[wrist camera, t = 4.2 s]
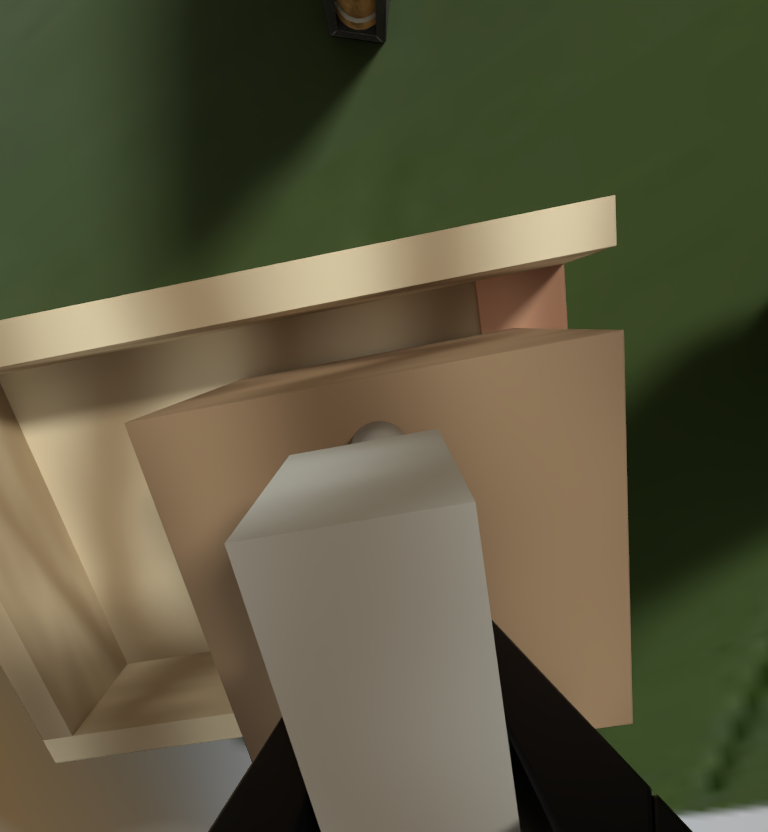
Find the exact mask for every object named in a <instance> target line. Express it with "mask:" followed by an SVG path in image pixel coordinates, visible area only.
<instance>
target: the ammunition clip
mask: <svg viewBox="0 0 768 832" xmlns="http://www.w3.org/2000/svg"><path fill="white" fill-rule="evenodd" d="M323 2H324V7H325V13H326V19H327V25H328V31H329V33H330V35H331V36H339V37H346V38H353V39H360V40H367V41H374V42H381V43H383V42H384V41H386V35H387V24H388V14H389V3H390V0H323Z"/></svg>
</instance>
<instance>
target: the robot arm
mask: <svg viewBox="0 0 768 832" xmlns="http://www.w3.org/2000/svg"><path fill="white" fill-rule="evenodd" d="M492 627H493V634H494V641H495V649H496V656H497V663H498V670H499V678H500V685H501V692H502V700H503V707H504V714H505V722H506V729H507V736H508V744H509V751H510V758H511V766H512V773H513V780H514V788H515V795H516V802H517V810H518V817H519V824H520V832H692V831H691V830H690V829H689V828H688V826H687V825H686V824H685V823H684V822H683V821H682V820H681V819H680V818H679V817H678V816H677V815H676V814H675V813H674V812H673V810H672V809H671V808H670V807H669V806H668V805H667V804H666V803H665V802H664V801H663V800H662V799H661V798H660V797H659V796H658V795H653V796H652V789H651V788H650V786H649V785H648V784H647V783H646V782H645V781H644V780H643V779H642V778H641V777H640V776H639V775H638V774H637V773H636V772H635V771H634V769H633V768H632V767H631V766H630V765H629V764H628V763H627V762H626V761H625V760H624V759H623V758H622V757H621V756H620V755H619V754H618V752H617V751H616V750H615V749H614V748H613V747H612V746H611V745H610V744H609V743H608V742H607V741H606V740H605V739H604V738H603V737H602V736H601V734H600V733H599V732H598V731H597V730H596V729H595V728H594V727H593V726H592V725H591V724H590V723H589V722H588V721H587V720H586V719H585V718H584V716H583V715H582V714H581V713H580V712H579V711H578V710H577V709H576V708H575V707H574V706H573V705H572V704H571V703H570V702H569V701H568V700H567V698H566V697H565V696H564V695H563V694H562V693H561V692H560V691H559V690H558V689H557V688H556V687H555V686H554V685H553V684H552V683H551V681H550V680H549V679H548V678H547V677H546V676H545V675H544V674H543V673H542V672H541V671H540V670H539V669H538V668H537V667H536V666H535V665H534V663H533V662H532V661H531V660H530V659H529V658H528V657H527V656H526V655H525V654H524V653H523V652H522V651H521V650H520V649H519V648H518V647H517V645H516V644H515V643H514V642H513V641H512V640H511V639H510V638H509V637H508V636H507V635H506V634H505V633H504V632H503V631H502V630H501V628H500V627H499V626H498V625H497V624H496V623H495V622H494V621H493V620H492ZM208 832H321V830H320V827H319V824H318V821H317V818H316V815H315V812H314V810H313V807H312V804H311V801H310V798H309V795H308V792H307V789H306V786H305V783H304V780H303V777H302V774H301V771H300V768H299V765H298V762H297V759H296V756H295V753H294V750H293V747H292V744H291V741H290V738H289V735H288V732H287V729H286V726H285V723H284V720H283V717H281V718H280V720H279V721H278V723H277V725H276V726H275V728H274V729H273V731H272V732H271V734H270V736H269V737H268V739H267V740H266V742H265V743H264V745H263V747H262V748H261V750H260V751H259V753H258V754H257V756H256V758H255V759H254V761H253V762H252V764H251V765H250V767H249V768H248V770H247V772H246V773H245V775H244V776H243V778H242V780H241V781H240V783H239V784H238V786H237V787H236V789H235V790H234V792H233V794H232V795H231V797H230V798H229V800H228V802H227V803H226V805H225V806H224V808H223V809H222V811H221V812H220V814H219V816H218V817H217V819H216V820H215V822H214V824H213V825H212V827H211V828H210V830H209V831H208Z"/></svg>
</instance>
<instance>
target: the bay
mask: <svg viewBox="0 0 768 832" xmlns="http://www.w3.org/2000/svg"><path fill="white" fill-rule="evenodd" d="M613 246H616V208H615V195H613V196H608V197H603V198H598V199H593V200H588V201H583V202H578V203H573V204H568V205H564V206H559V207H554V208H549V209H544V210H539V211H534V212H529V213H524V214H519V215H515V216H510V217H505V218H500V219H495V220H490V221H485V222H480V223H475V224H470V225H466V226H461V227H456V228H451V229H446V230H441V231H436V232H431V233H426V234H421V235H416V236H412V237H407V238H402V239H397V240H392V241H387V242H382V243H377V244H372V245H367V246H363V247H358V248H353V249H348V250H343V251H338V252H333V253H328V254H323V255H318V256H313V257H309V258H304V259H299V260H294V261H289V262H284V263H279V264H274V265H269V266H264V267H260V268H255V269H250V270H245V271H240V272H235V273H230V274H225V275H220V276H215V277H210V278H206V279H201V280H196V281H191V282H186V283H181V284H176V285H171V286H166V287H161V288H157V289H152V290H147V291H142V292H137V293H132V294H127V295H122V296H117V297H112V298H108V299H103V300H98V301H93V302H88V303H83V304H78V305H73V306H68V307H63V308H58V309H54V310H49V311H44V312H39V313H34V314H29V315H24V316H19V317H14V318H9V319H5V320H0V665H1V667H2V669H3V670H4V672H5V674H6V676H7V677H8V679H9V681H10V683H11V685H12V686H13V688H14V690H15V692H16V693H17V695H18V697H19V699H20V701H21V702H22V704H23V706H24V708H25V709H26V711H27V713H28V715H29V717H30V718H31V720H32V722H33V723H34V726H35V727H36V729H37V731H38V733H39V735H40V736H41V738H42V740H43V742H44V743H45V745H46V747H47V749H48V751H49V752H50V754H51V756H52V758H53V759H54V761H55V763H60V762H67V761H74V760H81V759H88V758H95V757H102V756H108V755H109V756H110V755H117V754H124V753H131V752H138V751H145V750H152V749H160V748H167V747H173V746H181V745H188V744H195V743H202V742H210V741H217V740H224V739H231V738H238V737H242V734H241V732H240V729H239V726H238V724H237V721H236V718H235V716H234V713H233V710H232V708H231V705H230V702H229V700H228V697H227V694H226V692H225V689H224V686H223V684H222V681H221V679H220V676H219V673H218V671H217V668H216V665H215V663H214V660H213V657H212V655H211V652H210V649H209V647H208V644H207V641H206V639H205V636H204V634H203V631H202V628H201V626H200V623H199V620H198V618H197V615H196V612H195V610H194V607H193V604H192V602H191V599H190V596H189V594H188V591H187V588H186V586H185V583H184V581H183V578H182V575H181V573H180V570H179V567H178V565H177V562H176V559H175V557H174V554H173V551H172V549H171V546H170V543H169V541H168V538H167V536H166V533H165V530H164V528H163V525H162V522H161V520H160V517H159V514H158V512H157V509H156V506H155V504H154V501H153V498H152V496H151V493H150V490H149V488H148V485H147V483H146V480H145V477H144V475H143V472H142V469H141V467H140V464H139V461H138V459H137V456H136V453H135V451H134V448H133V445H132V443H131V440H130V438H129V435H128V432H127V430H126V427H125V424H124V423H126V422H128V421H131V420H134V419H136V418H139V417H142V416H144V415H147V414H150V413H152V412H155V411H158V410H160V409H163V408H166V407H168V406H171V405H174V404H176V403H179V402H182V401H184V400H187V399H190V398H192V397H195V396H198V395H200V394H203V393H206V392H208V391H211V390H214V389H216V388H219V387H222V386H225V385H227V384H230V383H233V382H235V381H238V380H241V379H246V378H252V377H257V376H262V375H268V374H273V373H278V372H283V371H289V370H294V369H299V368H305V367H310V366H315V365H320V364H326V363H331V362H336V361H342V360H347V359H352V358H357V357H363V356H368V355H373V354H379V353H384V352H389V351H395V350H400V349H405V348H410V347H416V346H421V345H426V344H432V343H437V342H442V341H447V340H453V339H458V338H463V337H469V336H474V335H479V334H484V333H490V332H495V331H500V330H506V329H511V328H541V329H568V326H567V309H566V293H565V276H564V263H567V262H570V261H573V260H576V259H579V258H582V257H585V256H587V255H590V254H593V253H596V252H599V251H602V250H605V249H608V248H611V247H613Z"/></svg>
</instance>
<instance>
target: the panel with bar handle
mask: <svg viewBox="0 0 768 832" xmlns="http://www.w3.org/2000/svg"><path fill="white" fill-rule="evenodd" d="M124 424H125V427H126V430H127V432H128V435H129V438H130V440H131V443H132V445H133V448H134V451H135V453H136V456H137V459H138V461H139V464H140V467H141V469H142V472H143V475H144V477H145V480H146V483H147V485H148V488H149V490H150V493H151V496H152V498H153V501H154V504H155V506H156V509H157V512H158V514H159V517H160V520H161V522H162V525H163V528H164V530H165V533H166V536H167V538H168V541H169V543H170V546H171V549H172V551H173V554H174V557H175V559H176V562H177V565H178V567H179V570H180V573H181V575H182V578H183V581H184V583H185V586H186V588H187V591H188V594H189V596H190V599H191V602H192V604H193V607H194V610H195V612H196V615H197V618H198V620H199V623H200V626H201V628H202V631H203V634H204V636H205V639H206V641H207V644H208V647H209V649H210V652H211V655H212V657H213V660H214V663H215V665H216V668H217V671H218V673H219V676H220V679H221V681H222V684H223V686H224V689H225V692H226V694H227V697H228V700H229V702H230V705H231V708H232V710H233V713H234V716H235V718H236V721H237V724H238V726H239V729H240V732H241V734H242V737H243V739H244V742H245V745H246V747H247V750H248V753H249V755H250V758H251V761H252V762H253V761H254V759H255V758H256V756H257V754H258V753H259V751H260V750H261V748H262V747H263V745H264V743H265V742H266V740H267V739H268V737H269V736H270V734H271V732H272V731H273V729H274V728H275V726H276V725H277V723H278V721H279V720H280V718H281V717H283V720H284V723H285V726H286V729H287V732H288V735H289V738H290V741H291V744H292V747H293V750H294V753H295V756H296V759H297V762H298V765H299V768H300V771H301V774H302V777H303V780H304V783H305V786H306V789H307V792H308V795H309V798H310V801H311V804H312V807H313V810H314V812H315V815H316V818H317V821H318V824H319V827H320V830H321V832H520V824H519V817H518V810H517V802H516V795H515V788H514V780H513V773H512V766H511V758H510V751H509V744H508V736H507V729H506V722H505V714H504V707H503V700H502V692H501V685H500V678H499V670H498V663H497V656H496V649H495V641H494V634H493V627H492V620H493V621H494V622H495V623H496V624H497V625H498V626H499V627H500V628H501V630H502V631H503V632H504V633H505V634H506V635H507V636H508V637H509V638H510V639H511V640H512V641H513V642H514V643H515V644H516V645H517V647H518V648H519V649H520V650H521V651H522V652H523V653H524V654H525V655H526V656H527V657H528V658H529V659H530V660H531V661H532V662H533V663H534V665H535V666H536V667H537V668H538V669H539V670H540V671H541V672H542V673H543V674H544V675H545V676H546V677H547V678H548V679H549V680H550V681H551V683H552V684H553V685H554V686H555V687H556V688H557V689H558V690H559V691H560V692H561V693H562V694H563V695H564V696H565V697H566V698H567V700H568V701H569V702H570V703H571V704H572V705H573V706H574V707H575V708H576V709H577V710H578V711H579V712H580V713H581V714H582V715H583V716H584V718H585V719H586V720H587V721H588V722H589V723H590V724H591V725H592V726H593V727H594V728H603V727H610V726H618V725H625V724H632V723H633V717H632V673H631V629H630V584H629V540H628V496H627V451H626V407H625V363H624V330H595V329H541V328H511V329H506V330H500V331H495V332H490V333H484V334H479V335H474V336H469V337H463V338H458V339H453V340H447V341H442V342H437V343H432V344H426V345H421V346H416V347H410V348H405V349H400V350H395V351H389V352H384V353H379V354H373V355H368V356H363V357H357V358H352V359H347V360H342V361H336V362H331V363H326V364H320V365H315V366H310V367H305V368H299V369H294V370H289V371H283V372H278V373H273V374H268V375H262V376H257V377H252V378H246V379H241V380H238V381H235V382H233V383H230V384H227V385H225V386H222V387H219V388H216V389H214V390H211V391H208V392H206V393H203V394H200V395H198V396H195V397H192V398H190V399H187V400H184V401H182V402H179V403H176V404H174V405H171V406H168V407H166V408H163V409H160V410H158V411H155V412H152V413H150V414H147V415H144V416H142V417H139V418H136V419H134V420H131V421H128V422H126V423H124Z"/></svg>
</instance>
